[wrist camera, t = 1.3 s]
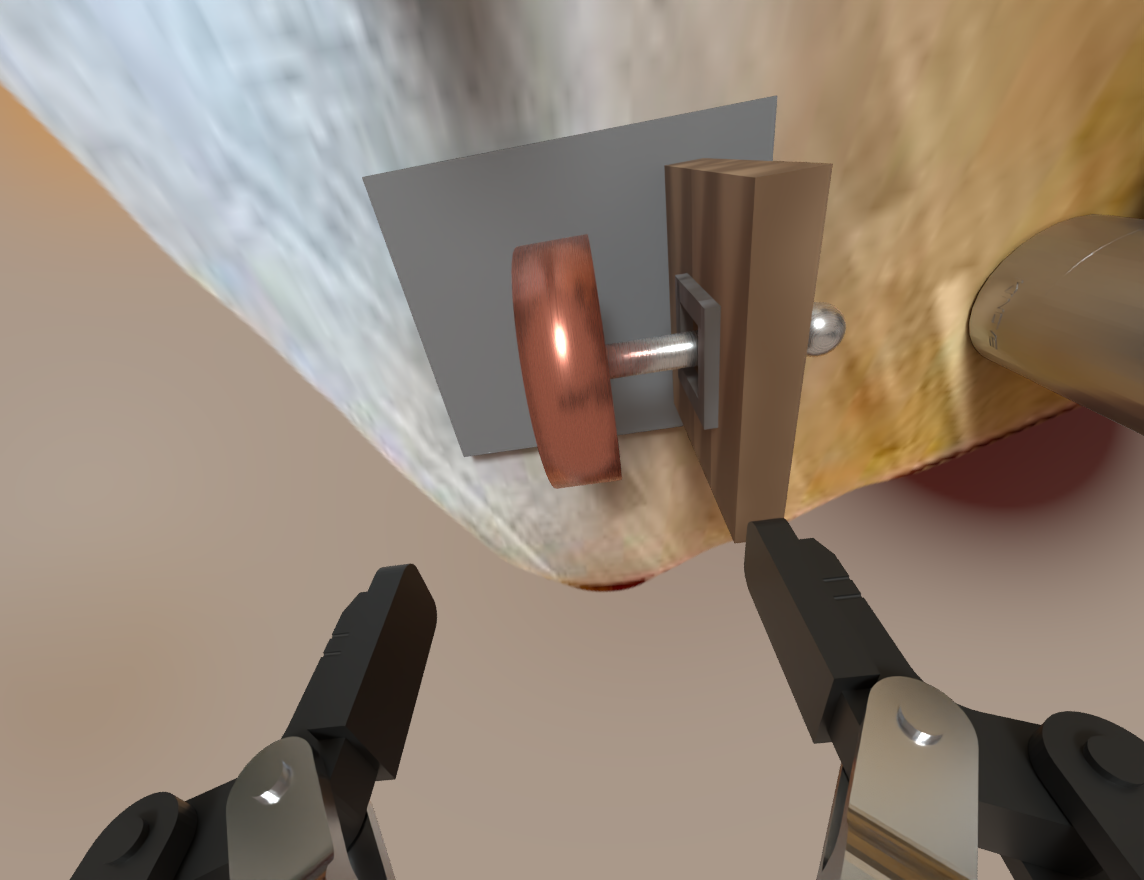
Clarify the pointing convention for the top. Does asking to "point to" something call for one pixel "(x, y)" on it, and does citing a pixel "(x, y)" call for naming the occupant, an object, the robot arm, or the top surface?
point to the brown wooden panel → (744, 318)
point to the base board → (537, 214)
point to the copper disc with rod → (593, 358)
